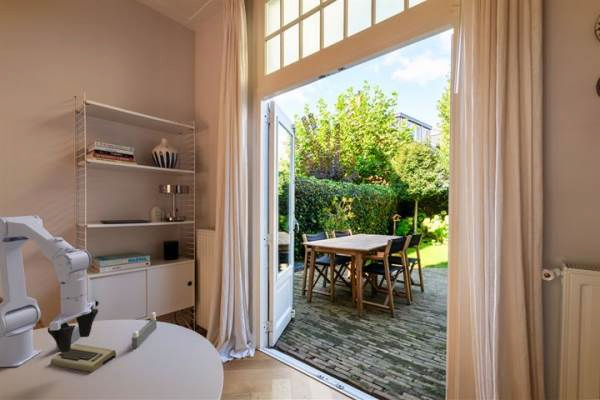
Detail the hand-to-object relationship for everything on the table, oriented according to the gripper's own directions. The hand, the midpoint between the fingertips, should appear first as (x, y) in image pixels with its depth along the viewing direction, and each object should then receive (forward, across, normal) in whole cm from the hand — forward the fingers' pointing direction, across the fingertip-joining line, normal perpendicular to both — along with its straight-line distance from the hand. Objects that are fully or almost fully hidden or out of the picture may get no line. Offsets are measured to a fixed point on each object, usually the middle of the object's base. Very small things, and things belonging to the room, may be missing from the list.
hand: (75, 343), depth 78 cm
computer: (+10, +7, +3) cm, 12 cm away
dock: (+9, +20, +2) cm, 22 cm away
